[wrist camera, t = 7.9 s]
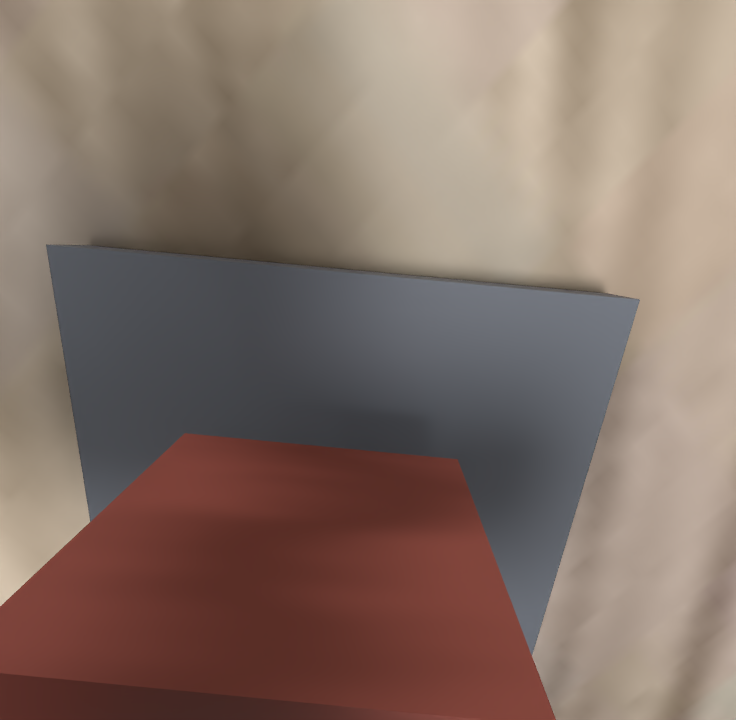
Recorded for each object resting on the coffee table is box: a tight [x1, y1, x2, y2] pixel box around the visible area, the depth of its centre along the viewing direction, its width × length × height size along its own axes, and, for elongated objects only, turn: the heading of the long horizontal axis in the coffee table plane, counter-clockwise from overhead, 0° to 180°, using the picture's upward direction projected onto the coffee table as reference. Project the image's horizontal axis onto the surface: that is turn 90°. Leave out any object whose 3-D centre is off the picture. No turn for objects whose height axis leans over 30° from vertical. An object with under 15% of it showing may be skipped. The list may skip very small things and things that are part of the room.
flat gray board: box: [46, 245, 640, 655], centre depth 10 cm, size 16×14×6 cm
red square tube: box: [0, 433, 556, 720], centre depth 7 cm, size 6×6×5 cm
